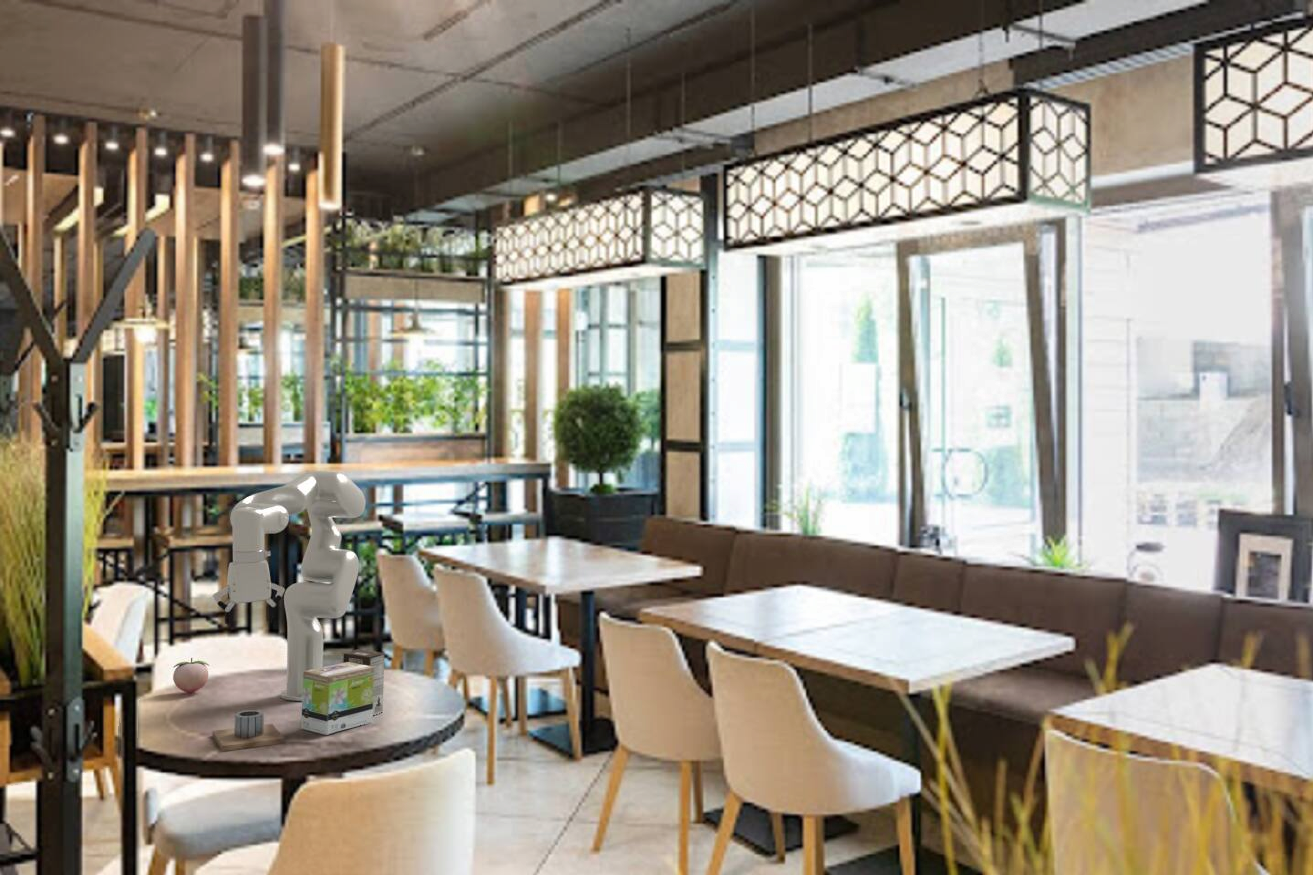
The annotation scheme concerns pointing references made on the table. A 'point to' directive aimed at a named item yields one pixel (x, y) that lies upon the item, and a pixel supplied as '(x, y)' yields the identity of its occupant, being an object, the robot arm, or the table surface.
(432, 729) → the table surface
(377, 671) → the coffee box
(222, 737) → the shaft base
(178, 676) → the decorative fruit
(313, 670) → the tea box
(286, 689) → the robot arm
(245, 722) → the grey hollow cylinder
